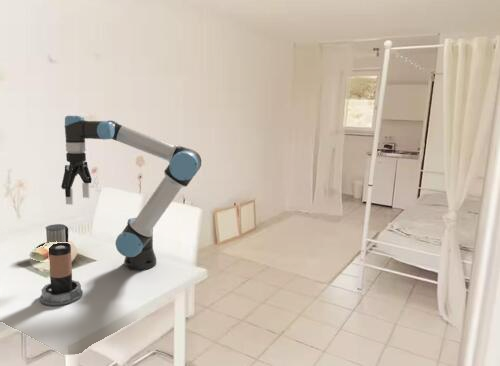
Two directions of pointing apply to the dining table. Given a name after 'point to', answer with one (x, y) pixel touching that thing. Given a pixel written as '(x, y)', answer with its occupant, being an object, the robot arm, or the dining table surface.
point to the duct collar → (61, 295)
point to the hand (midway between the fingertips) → (78, 200)
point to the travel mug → (60, 268)
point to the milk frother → (56, 233)
